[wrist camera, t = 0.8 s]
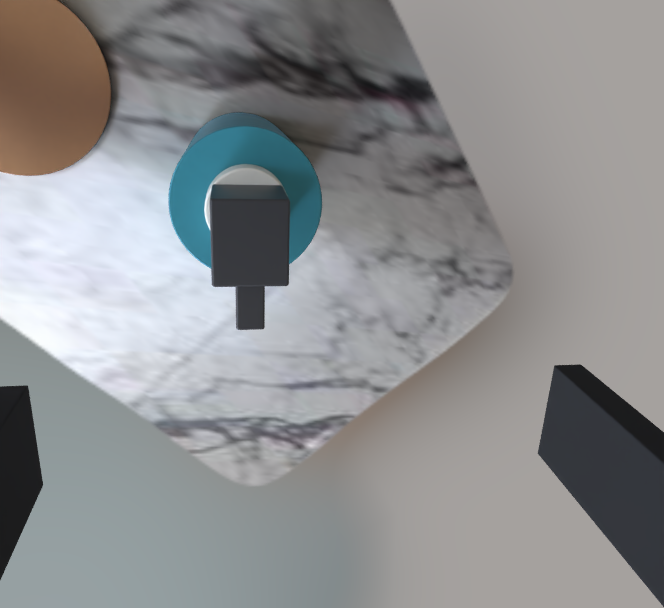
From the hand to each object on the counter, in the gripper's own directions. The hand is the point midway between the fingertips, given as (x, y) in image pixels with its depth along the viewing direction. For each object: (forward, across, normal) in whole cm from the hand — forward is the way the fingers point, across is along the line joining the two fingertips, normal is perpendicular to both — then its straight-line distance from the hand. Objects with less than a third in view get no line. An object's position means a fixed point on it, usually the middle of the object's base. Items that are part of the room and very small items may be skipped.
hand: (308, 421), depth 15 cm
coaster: (+21, -12, +7) cm, 25 cm away
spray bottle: (+21, -1, +3) cm, 21 cm away
